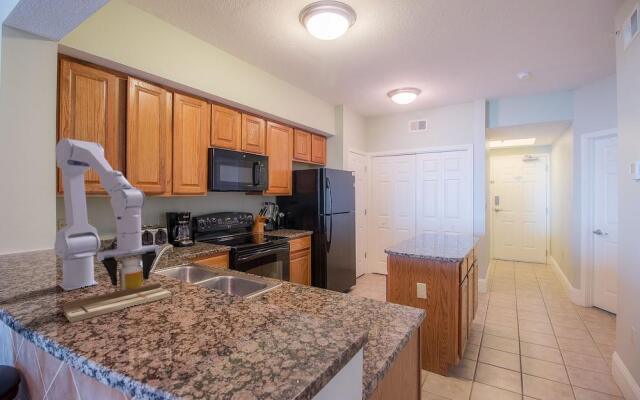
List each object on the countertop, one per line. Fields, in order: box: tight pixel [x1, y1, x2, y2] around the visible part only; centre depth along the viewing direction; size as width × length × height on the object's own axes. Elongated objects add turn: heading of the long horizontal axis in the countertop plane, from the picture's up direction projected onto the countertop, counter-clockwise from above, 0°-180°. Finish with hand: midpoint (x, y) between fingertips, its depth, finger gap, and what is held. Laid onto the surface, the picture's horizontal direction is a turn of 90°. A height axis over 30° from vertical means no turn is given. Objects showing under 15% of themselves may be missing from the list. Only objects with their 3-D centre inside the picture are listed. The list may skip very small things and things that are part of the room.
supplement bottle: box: [118, 257, 143, 291], centre depth 83 cm, size 5×5×10 cm
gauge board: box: [62, 281, 172, 323], centre depth 76 cm, size 8×21×2 cm, turn 140°
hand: (130, 281), depth 83 cm, fingers open, 7 cm apart
